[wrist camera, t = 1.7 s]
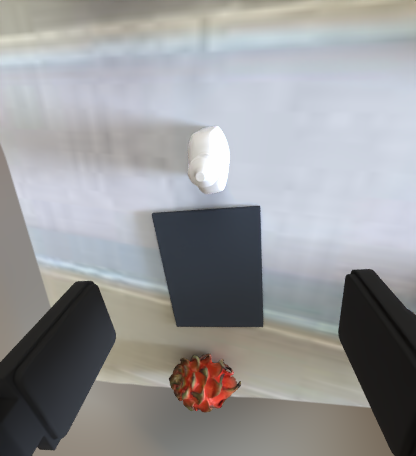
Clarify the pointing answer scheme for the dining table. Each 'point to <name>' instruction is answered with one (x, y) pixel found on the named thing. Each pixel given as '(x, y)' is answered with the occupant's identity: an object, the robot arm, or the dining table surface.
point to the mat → (213, 265)
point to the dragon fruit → (202, 383)
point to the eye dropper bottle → (208, 159)
